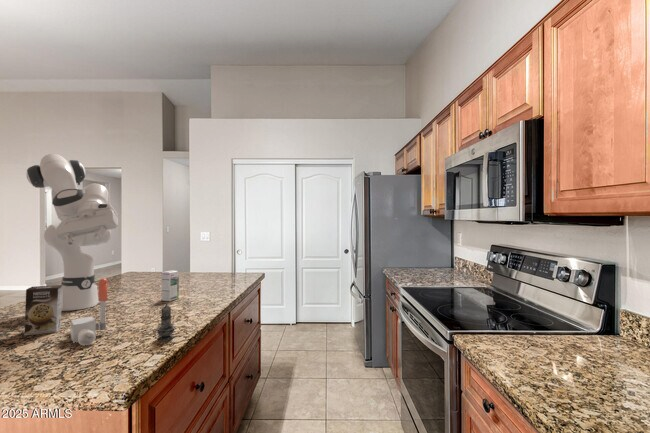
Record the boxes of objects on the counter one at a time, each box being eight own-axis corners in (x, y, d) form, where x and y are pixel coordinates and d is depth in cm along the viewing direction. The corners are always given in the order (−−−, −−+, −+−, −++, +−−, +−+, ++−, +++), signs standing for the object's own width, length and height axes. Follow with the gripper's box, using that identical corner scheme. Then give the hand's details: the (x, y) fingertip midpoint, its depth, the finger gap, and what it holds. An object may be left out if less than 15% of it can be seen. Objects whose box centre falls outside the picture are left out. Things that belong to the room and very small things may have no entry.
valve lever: (97, 329, 115) (98, 278, 115) (105, 328, 116) (106, 277, 117) (98, 331, 112) (99, 279, 113) (107, 330, 114) (108, 278, 114)
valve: (68, 333, 115) (69, 316, 115) (93, 328, 120) (93, 312, 120) (75, 348, 102) (75, 329, 102) (103, 342, 107) (103, 324, 107)
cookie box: (23, 336, 112) (24, 289, 112) (30, 330, 117) (31, 286, 118) (56, 332, 116) (57, 287, 116) (61, 326, 122) (62, 284, 122)
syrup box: (169, 301, 160) (170, 272, 161) (160, 300, 163) (161, 271, 163) (178, 298, 166) (179, 270, 166) (170, 297, 168) (170, 270, 168)
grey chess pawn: (160, 335, 114) (161, 301, 114) (177, 335, 114) (178, 301, 114) (153, 341, 108) (153, 305, 108) (171, 341, 108) (171, 305, 109)
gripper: (56, 214, 122) (46, 242, 113) (114, 203, 126) (109, 228, 116) (66, 226, 126) (57, 252, 117) (122, 214, 130) (117, 239, 121)
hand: (83, 240), depth 117 cm, fingers open, 8 cm apart
